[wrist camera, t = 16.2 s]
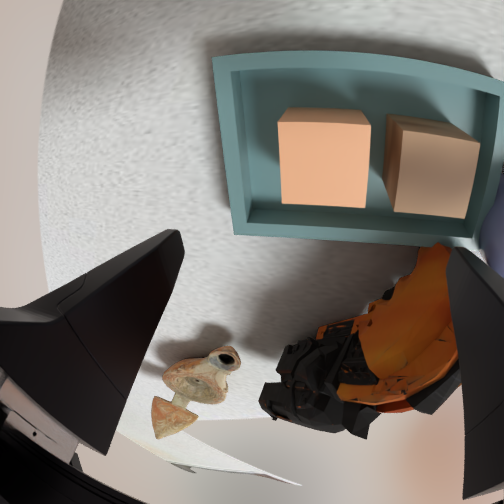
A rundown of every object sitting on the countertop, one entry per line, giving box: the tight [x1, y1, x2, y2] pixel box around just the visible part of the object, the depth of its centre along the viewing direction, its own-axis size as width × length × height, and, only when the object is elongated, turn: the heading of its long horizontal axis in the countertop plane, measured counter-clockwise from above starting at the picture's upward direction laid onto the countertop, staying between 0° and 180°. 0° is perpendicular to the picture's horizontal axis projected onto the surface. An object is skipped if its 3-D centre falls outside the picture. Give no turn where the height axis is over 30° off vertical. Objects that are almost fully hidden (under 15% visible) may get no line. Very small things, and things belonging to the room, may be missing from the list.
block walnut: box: [382, 114, 480, 219], centre depth 15 cm, size 4×4×4 cm
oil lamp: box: [151, 346, 241, 439], centre depth 35 cm, size 9×21×10 cm, turn 149°
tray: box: [212, 51, 504, 251], centre depth 17 cm, size 18×12×2 cm, turn 95°
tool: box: [259, 242, 462, 439], centre depth 23 cm, size 8×23×15 cm, turn 148°
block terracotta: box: [278, 107, 371, 208], centre depth 16 cm, size 4×4×4 cm
